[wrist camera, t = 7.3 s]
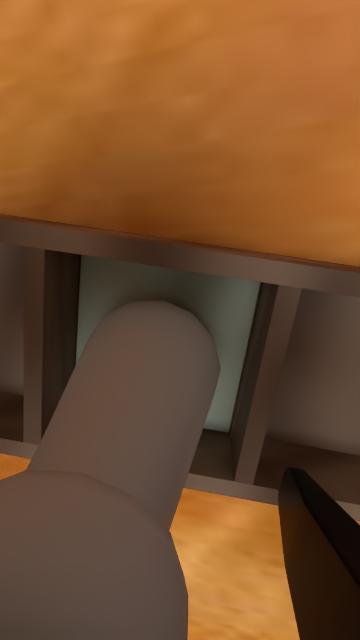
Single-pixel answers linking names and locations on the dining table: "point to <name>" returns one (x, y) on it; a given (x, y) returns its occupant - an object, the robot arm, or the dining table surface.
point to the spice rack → (229, 336)
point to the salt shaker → (110, 486)
